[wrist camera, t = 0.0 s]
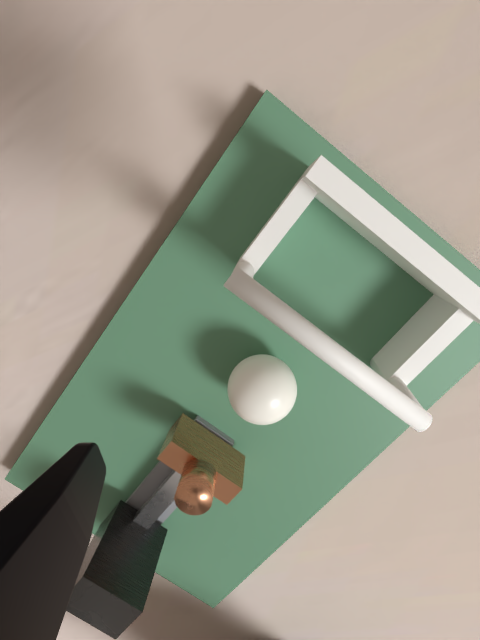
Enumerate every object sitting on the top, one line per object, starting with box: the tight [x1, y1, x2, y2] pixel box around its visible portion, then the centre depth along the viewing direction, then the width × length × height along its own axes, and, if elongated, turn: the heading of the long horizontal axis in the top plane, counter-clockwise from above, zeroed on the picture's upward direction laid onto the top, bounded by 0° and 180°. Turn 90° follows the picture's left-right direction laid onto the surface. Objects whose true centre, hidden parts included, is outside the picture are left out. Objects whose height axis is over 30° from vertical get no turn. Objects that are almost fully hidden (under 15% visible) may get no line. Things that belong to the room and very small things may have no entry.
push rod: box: [66, 413, 245, 639], centre depth 23 cm, size 12×5×6 cm, turn 143°
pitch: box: [5, 90, 480, 608], centre depth 25 cm, size 31×19×2 cm, turn 143°
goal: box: [224, 155, 480, 432], centre depth 18 cm, size 6×11×6 cm, turn 53°
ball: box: [227, 354, 297, 425], centre depth 22 cm, size 4×4×4 cm
